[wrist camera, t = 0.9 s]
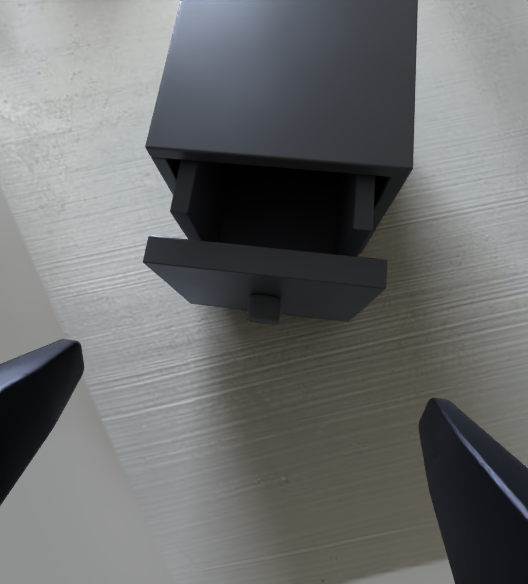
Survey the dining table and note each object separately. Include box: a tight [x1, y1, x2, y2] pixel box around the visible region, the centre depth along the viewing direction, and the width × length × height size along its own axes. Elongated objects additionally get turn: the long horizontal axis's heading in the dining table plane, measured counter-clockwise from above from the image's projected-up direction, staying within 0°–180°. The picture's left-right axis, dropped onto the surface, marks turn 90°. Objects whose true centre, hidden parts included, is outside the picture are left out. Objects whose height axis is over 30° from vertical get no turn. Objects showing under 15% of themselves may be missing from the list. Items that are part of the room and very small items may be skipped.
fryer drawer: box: [143, 159, 387, 324], centre depth 19 cm, size 12×10×8 cm
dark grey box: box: [145, 0, 418, 253], centre depth 20 cm, size 12×11×9 cm
